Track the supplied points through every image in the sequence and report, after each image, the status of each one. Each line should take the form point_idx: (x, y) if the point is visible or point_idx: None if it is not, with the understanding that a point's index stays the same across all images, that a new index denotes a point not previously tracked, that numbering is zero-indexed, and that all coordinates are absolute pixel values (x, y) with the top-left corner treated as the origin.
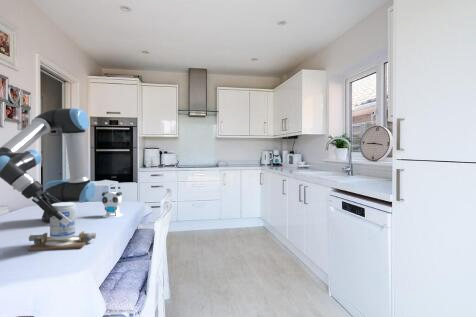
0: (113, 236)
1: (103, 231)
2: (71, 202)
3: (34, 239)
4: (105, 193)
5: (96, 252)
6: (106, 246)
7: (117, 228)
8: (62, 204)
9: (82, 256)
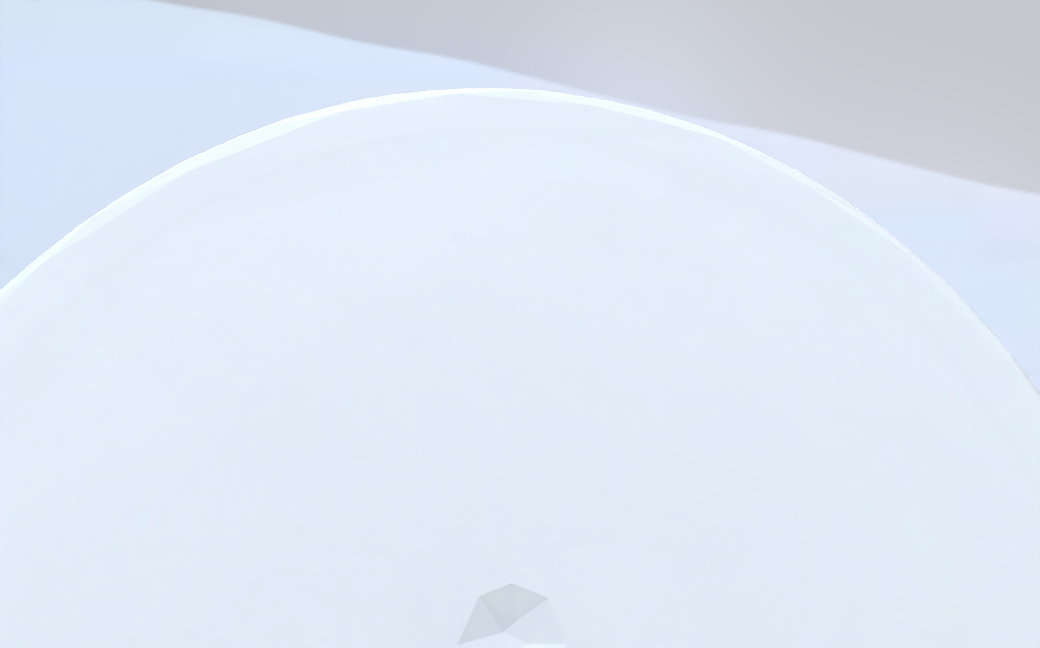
0: (385, 73)
1: (87, 167)
2: (103, 255)
3: None
4: None
5: (893, 205)
6: (729, 131)
7: (30, 28)
8: (728, 636)
9: (992, 312)
